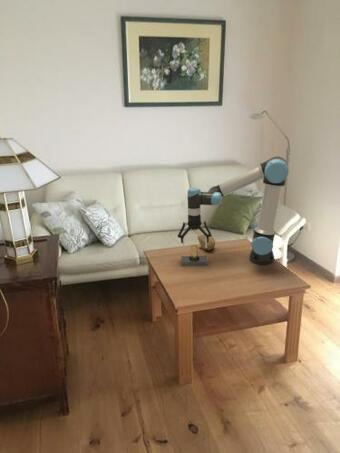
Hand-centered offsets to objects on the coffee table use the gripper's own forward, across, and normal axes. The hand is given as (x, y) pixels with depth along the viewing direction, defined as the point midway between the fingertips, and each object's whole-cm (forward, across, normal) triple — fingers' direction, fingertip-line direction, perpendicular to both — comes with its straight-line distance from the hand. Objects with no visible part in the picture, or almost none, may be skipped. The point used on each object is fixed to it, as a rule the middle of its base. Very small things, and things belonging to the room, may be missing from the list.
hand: (194, 247), depth 221 cm
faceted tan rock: (+10, -10, -21) cm, 25 cm away
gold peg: (+10, 0, 0) cm, 10 cm away
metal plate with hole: (+10, 0, 0) cm, 10 cm away
